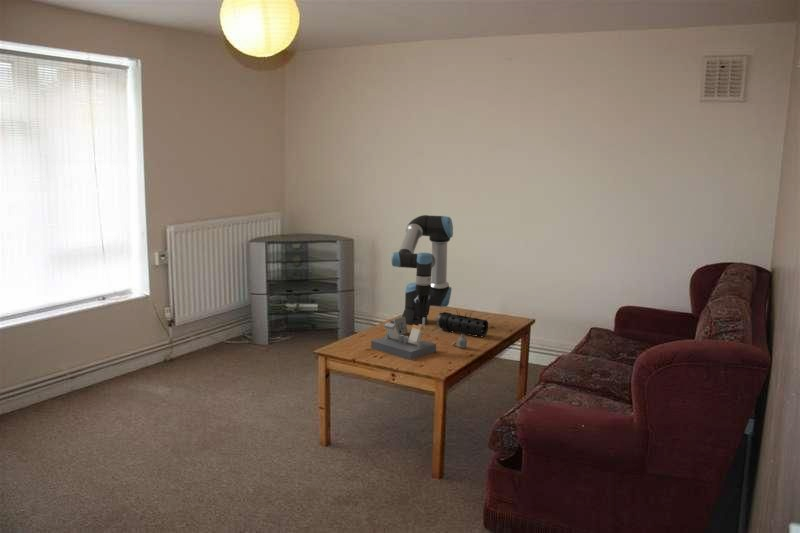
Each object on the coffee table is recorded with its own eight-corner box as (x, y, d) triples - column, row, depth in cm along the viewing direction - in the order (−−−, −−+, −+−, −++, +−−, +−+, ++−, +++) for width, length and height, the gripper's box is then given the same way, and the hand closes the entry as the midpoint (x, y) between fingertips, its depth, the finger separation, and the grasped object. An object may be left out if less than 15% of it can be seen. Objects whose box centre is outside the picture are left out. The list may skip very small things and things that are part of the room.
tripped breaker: (409, 343, 335) (415, 325, 336) (418, 345, 331) (424, 327, 333) (406, 342, 333) (412, 324, 335) (415, 344, 329) (421, 326, 331)
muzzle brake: (480, 340, 360) (481, 321, 358) (435, 331, 375) (436, 313, 373) (488, 336, 368) (489, 318, 366) (443, 327, 383) (444, 310, 381)
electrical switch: (397, 336, 361) (396, 319, 360) (390, 335, 364) (389, 318, 363) (408, 333, 368) (407, 316, 367) (400, 332, 371) (400, 316, 370)
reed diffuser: (471, 348, 344) (474, 310, 340) (466, 351, 338) (468, 313, 334) (454, 344, 349) (456, 307, 345) (448, 347, 343) (450, 310, 340)
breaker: (392, 336, 343) (386, 322, 338) (401, 338, 339) (395, 324, 334) (389, 339, 341) (383, 325, 336) (398, 341, 337) (392, 327, 332)
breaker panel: (396, 340, 352) (397, 327, 351) (435, 351, 336) (436, 337, 335) (370, 348, 337) (371, 334, 336) (410, 360, 321) (411, 345, 320)
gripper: (421, 286, 325) (419, 333, 329) (437, 283, 334) (435, 329, 338) (409, 284, 329) (407, 330, 333) (425, 281, 339) (423, 326, 343)
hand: (421, 329), depth 336 cm, fingers closed
